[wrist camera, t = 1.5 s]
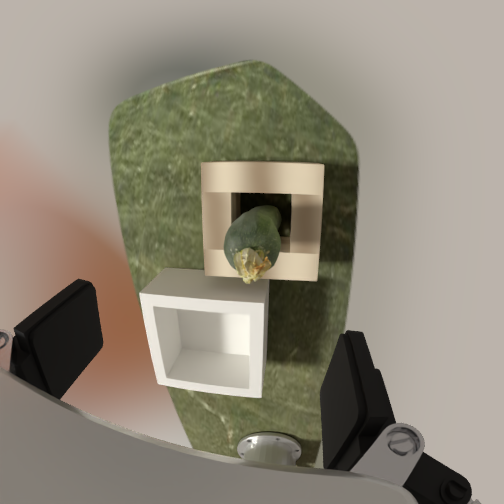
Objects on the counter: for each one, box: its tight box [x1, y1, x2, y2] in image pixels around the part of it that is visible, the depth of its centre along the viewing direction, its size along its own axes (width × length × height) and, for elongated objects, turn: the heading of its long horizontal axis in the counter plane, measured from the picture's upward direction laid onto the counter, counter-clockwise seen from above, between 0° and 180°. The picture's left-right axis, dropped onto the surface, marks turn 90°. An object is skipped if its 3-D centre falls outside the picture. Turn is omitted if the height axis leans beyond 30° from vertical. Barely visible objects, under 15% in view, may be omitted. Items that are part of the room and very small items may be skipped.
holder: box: [201, 161, 324, 281], centre depth 33 cm, size 12×12×6 cm
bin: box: [140, 268, 269, 398], centre depth 37 cm, size 14×14×8 cm
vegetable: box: [223, 205, 281, 284], centre depth 26 cm, size 4×4×20 cm
